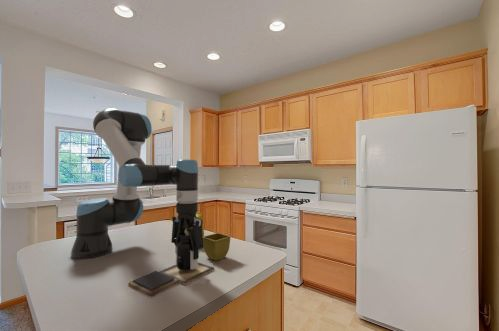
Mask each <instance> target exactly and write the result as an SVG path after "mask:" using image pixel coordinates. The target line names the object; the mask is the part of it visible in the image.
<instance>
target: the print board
mask: <svg viewBox="0 0 499 331" xmlns="http://www.w3.org/2000/svg"><path fill="white" fill-rule="evenodd" d="M214 270H215V268H214V266H210V265H207V264H204V263H202V262H199V261H198V267H196V268H194V269H191V270H179V269H178V268H177V264H176V263H175V264H174V265H172V266H169V267H167V268H164V269H162V270H159V271H158V272H160V273H163V274H165V275H168V276H170V277H173V278H175V279H178V283H177V284H179V285H183V286H186V285H188V284H190V283H192V282H194V281H196V280H198V279H200V278H201V277H203V276H206V275H207V274H209V273H211V272H212V271H214Z"/></svg>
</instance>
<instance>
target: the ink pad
mask: <svg viewBox="0 0 499 331" xmlns="http://www.w3.org/2000/svg"><path fill="white" fill-rule="evenodd" d="M173 280H174V278H172V277H169V276H167V275H164V274H162V273H159V271H158V272H157V270H155V271H151V272H149V273H146V274H144V275H143V276H139V277H137V278H135V279H133V280H132V281H133V282H134V283H136V284H138V285H140V286H142V287H144V288H147V289H149V290H151V291H153V290H155V289H157V288H159V287H161V286H163V285H165V284H167V283H169V282H171V281H173Z"/></svg>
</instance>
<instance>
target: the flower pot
mask: <svg viewBox="0 0 499 331" xmlns="http://www.w3.org/2000/svg"><path fill="white" fill-rule="evenodd" d="M230 245H231V235H227V234H223V233H219V232H216V233H211V234H208V235H204V237H203V250H204V253H205V255H206V256H207V258H209V259H210V260H213V261H218V260H221V259H225V257H226V256H227V255H228V253H229V251H230Z"/></svg>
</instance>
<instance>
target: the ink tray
mask: <svg viewBox="0 0 499 331" xmlns="http://www.w3.org/2000/svg"><path fill="white" fill-rule="evenodd" d="M156 271H157V270H156ZM157 272H159V271H157ZM159 273H160V272H159ZM162 274H163V273H162ZM164 275H165V274H164ZM167 276H168V275H167ZM169 277H170V276H169ZM172 278H173V277H172ZM127 284H128V286H129V287H131V288H132V289H135V290H137V291H139V292H141V293H142V294H144V295H146V296H148V297H150V298H152V297H154V296H155V295H158V294H160V293H161V292H163V291H165V290H167V289H170V288H171V287H174V286H175V285H177V284H179V283H178V279H175V278H174V280H173V281H171V282H169V283H167V284H165V285H163V286H161V287H159V288H157V289H155V290H153V291H151V290H149V289H147V288H144V287H142V286H140V285H138V284H136V283H134V282H133V280H131V281H128V283H127Z"/></svg>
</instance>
